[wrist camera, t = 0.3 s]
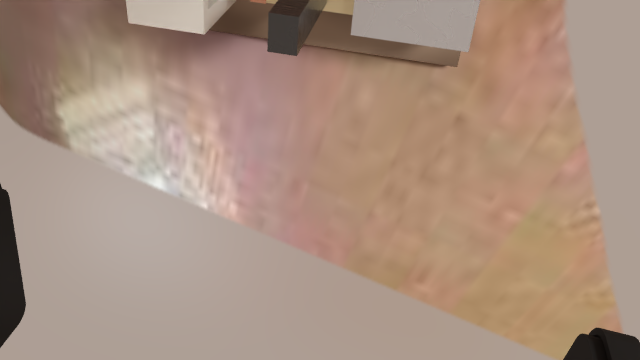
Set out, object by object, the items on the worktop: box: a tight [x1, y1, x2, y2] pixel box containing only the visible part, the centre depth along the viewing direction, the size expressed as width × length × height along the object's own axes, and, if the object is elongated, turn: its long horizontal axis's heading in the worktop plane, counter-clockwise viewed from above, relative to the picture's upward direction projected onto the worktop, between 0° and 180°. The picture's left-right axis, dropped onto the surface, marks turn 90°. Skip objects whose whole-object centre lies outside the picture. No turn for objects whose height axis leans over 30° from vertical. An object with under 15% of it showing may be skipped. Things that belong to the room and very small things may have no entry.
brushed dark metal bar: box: [250, 0, 354, 56], centre depth 34 cm, size 3×13×11 cm, turn 86°
